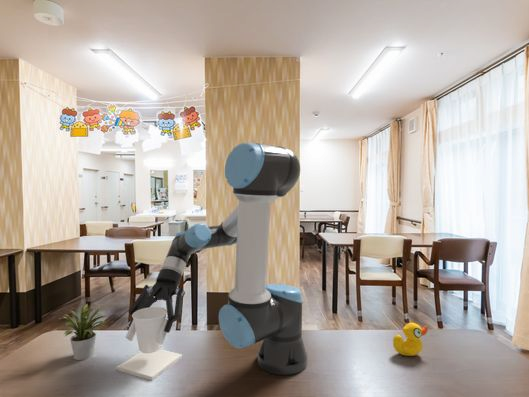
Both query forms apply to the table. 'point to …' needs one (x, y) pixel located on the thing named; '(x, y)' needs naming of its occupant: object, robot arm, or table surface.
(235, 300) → the robot arm
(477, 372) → the table surface
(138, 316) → the cup
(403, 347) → the duckling
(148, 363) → the placemat
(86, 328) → the house plant
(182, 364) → the table surface
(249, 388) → the table surface
